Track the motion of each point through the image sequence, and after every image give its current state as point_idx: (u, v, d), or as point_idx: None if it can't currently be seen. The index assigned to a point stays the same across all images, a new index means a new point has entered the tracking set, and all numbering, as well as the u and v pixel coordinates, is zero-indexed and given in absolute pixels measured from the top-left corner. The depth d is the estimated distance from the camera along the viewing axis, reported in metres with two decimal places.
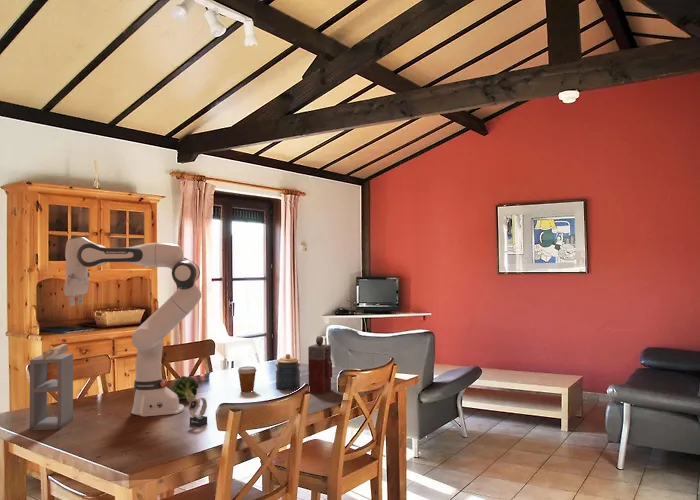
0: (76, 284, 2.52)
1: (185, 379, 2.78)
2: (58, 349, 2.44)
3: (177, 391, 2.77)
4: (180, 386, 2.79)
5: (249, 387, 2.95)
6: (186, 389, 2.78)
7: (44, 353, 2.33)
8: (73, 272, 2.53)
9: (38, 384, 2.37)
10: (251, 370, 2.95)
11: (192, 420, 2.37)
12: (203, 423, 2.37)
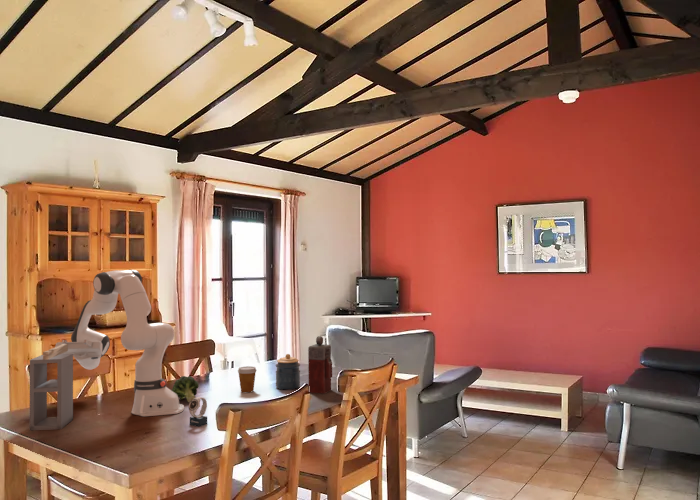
0: None
1: (185, 379, 2.78)
2: (58, 349, 2.44)
3: (177, 391, 2.77)
4: (180, 386, 2.79)
5: (249, 387, 2.95)
6: (186, 389, 2.78)
7: (44, 353, 2.33)
8: None
9: (38, 384, 2.37)
10: (251, 370, 2.95)
11: (192, 420, 2.37)
12: (203, 423, 2.37)
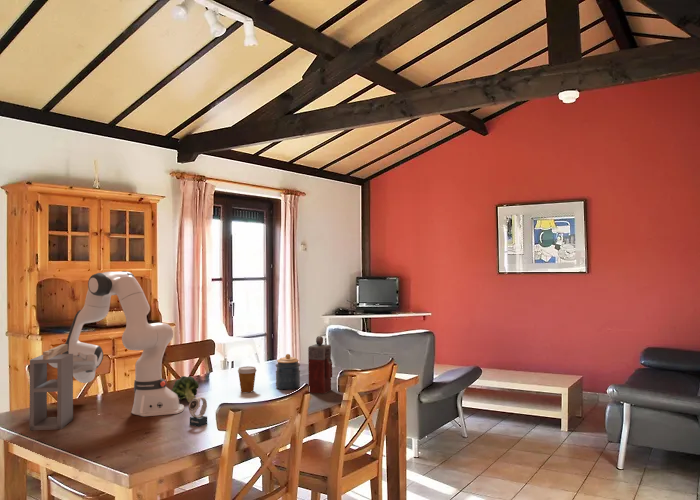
0: None
1: (185, 379, 2.78)
2: (58, 349, 2.44)
3: (177, 391, 2.77)
4: (180, 386, 2.78)
5: (249, 387, 2.95)
6: (186, 389, 2.78)
7: (44, 353, 2.33)
8: None
9: (38, 384, 2.37)
10: (251, 370, 2.95)
11: (192, 420, 2.37)
12: (203, 423, 2.37)
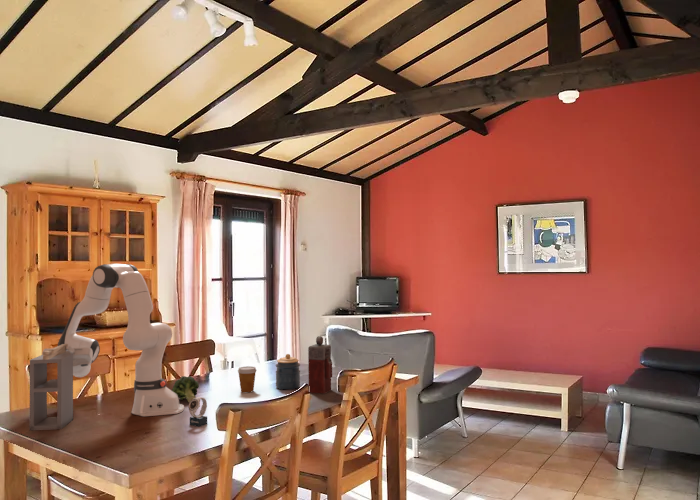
0: None
1: (185, 379, 2.78)
2: (58, 349, 2.44)
3: (177, 391, 2.77)
4: (180, 386, 2.78)
5: (249, 387, 2.95)
6: (186, 389, 2.78)
7: (44, 353, 2.33)
8: None
9: (38, 384, 2.37)
10: (251, 370, 2.95)
11: (192, 420, 2.37)
12: (203, 423, 2.37)
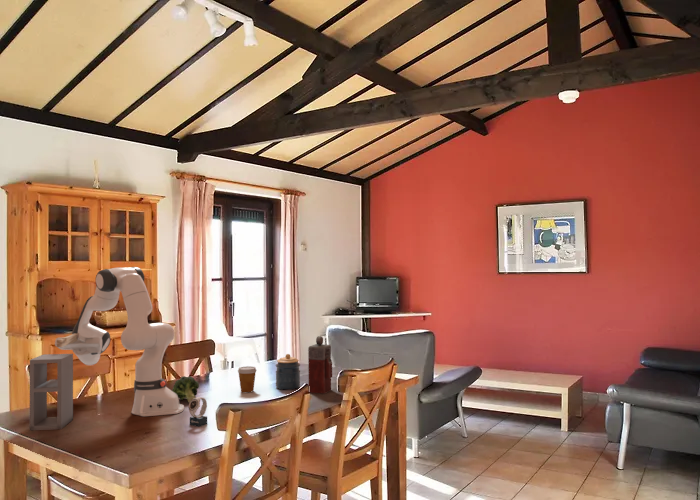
0: None
1: (185, 379, 2.77)
2: (70, 338, 2.59)
3: (177, 391, 2.77)
4: (180, 386, 2.78)
5: (249, 387, 2.95)
6: (186, 389, 2.77)
7: (58, 341, 2.48)
8: None
9: (38, 384, 2.37)
10: (251, 370, 2.95)
11: (192, 420, 2.37)
12: (203, 423, 2.37)
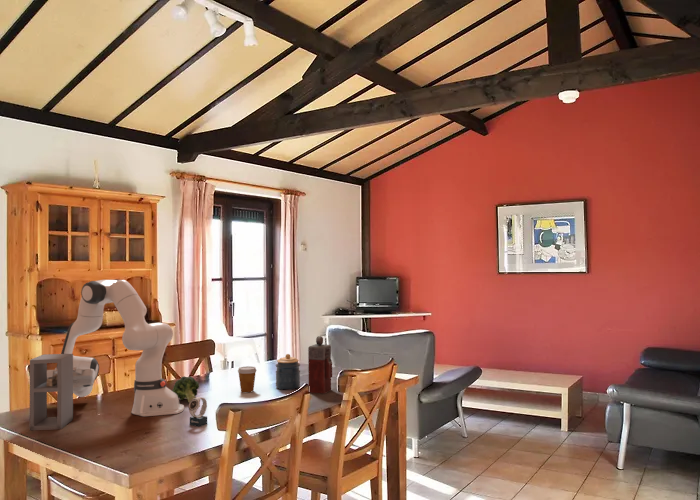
0: None
1: (186, 379, 2.77)
2: None
3: (178, 392, 2.76)
4: (181, 387, 2.77)
5: (249, 387, 2.95)
6: (187, 390, 2.77)
7: (48, 380, 2.36)
8: None
9: (38, 384, 2.37)
10: (251, 370, 2.95)
11: (192, 420, 2.37)
12: (203, 423, 2.37)
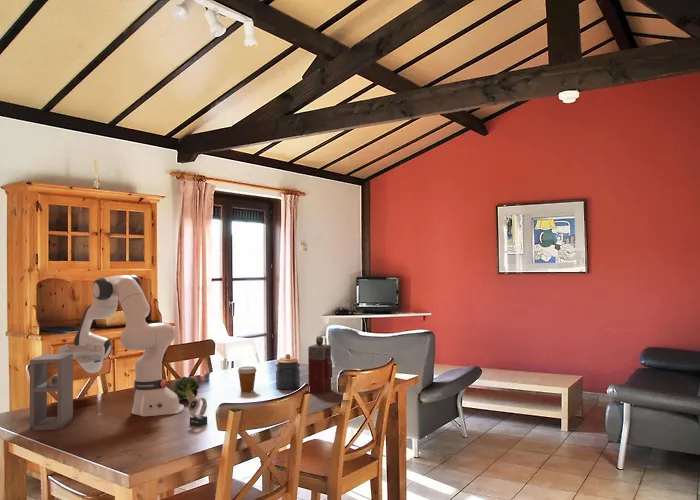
0: None
1: (186, 380, 2.77)
2: None
3: (178, 392, 2.76)
4: (181, 387, 2.77)
5: (249, 387, 2.95)
6: (187, 390, 2.77)
7: (48, 380, 2.36)
8: None
9: (38, 384, 2.37)
10: (251, 370, 2.95)
11: (192, 420, 2.37)
12: (203, 423, 2.37)
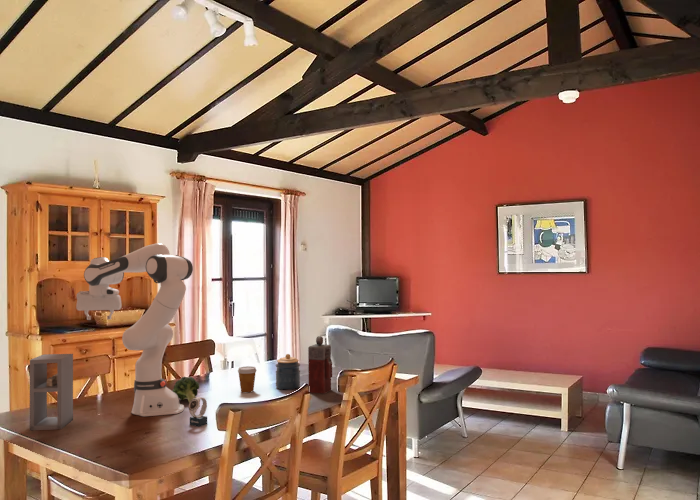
0: (88, 300, 2.79)
1: (186, 380, 2.76)
2: None
3: (178, 392, 2.76)
4: (181, 387, 2.77)
5: (249, 387, 2.95)
6: (187, 390, 2.76)
7: (48, 380, 2.36)
8: None
9: (38, 384, 2.37)
10: (251, 370, 2.95)
11: (192, 420, 2.37)
12: (203, 423, 2.37)
